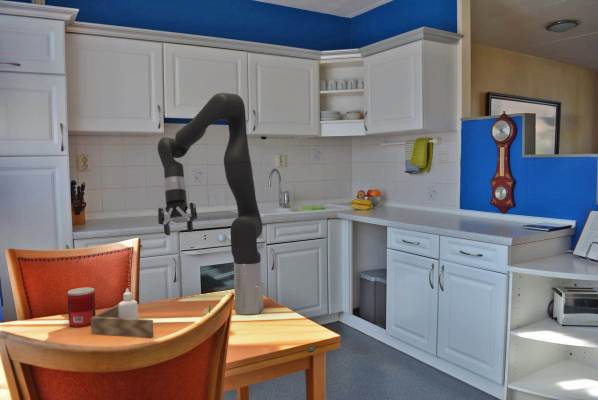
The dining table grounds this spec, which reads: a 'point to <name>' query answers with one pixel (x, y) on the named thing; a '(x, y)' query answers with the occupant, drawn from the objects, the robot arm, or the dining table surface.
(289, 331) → the dining table surface
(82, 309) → the canned food
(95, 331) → the corner arena
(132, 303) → the eye dropper bottle
